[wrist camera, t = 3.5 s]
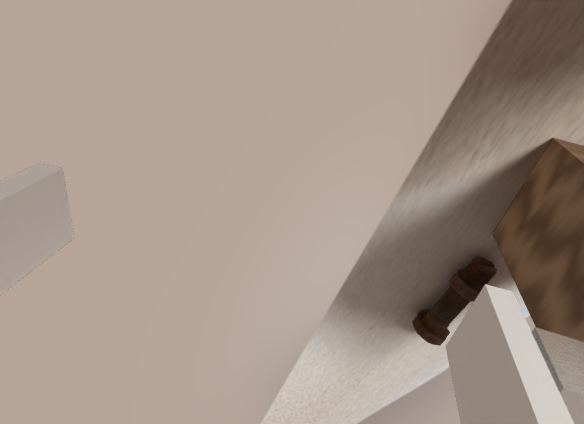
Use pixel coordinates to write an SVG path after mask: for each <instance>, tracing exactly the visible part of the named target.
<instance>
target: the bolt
mask: <svg viewBox="0 0 584 424" xmlns="http://www.w3.org/2000/svg"><path fill="white" fill-rule="evenodd" d="M494 267H495V265H494V264H493V263H492V262H491V261H489V260H487V259H485V258H481V257H480V258H478V257H477V258H475V259H474V260H473V261H472V262H471V264H470V265H469V266H468V267H467V269H465V271H464V270H459V271H458V272H457V273H456V274H455V275H454V277H453V278H452V279H451V280H450V283H451V287H450V288H449V290H447V292H446V293H445V294H444V295H443V296H442V297H441V299H440V300H439V301H438V302H437V303H436V304H435V306H434V307H433V308H432V309H431V310H429V312H428V313H427V312H425V311H423V310H422V311H421V312H420V313H419V314H418V315H417V317H416V318H415V319H414V320H413V321H412V322H413V326H414V328H415V330H416V332H417V333H418V334H419V335H420V336H421V337H422V338H423V339H424V340H425V341H427V342H428V343H431V344H434V345H441V344H442V343H443V342H444V340H445V339H446V337H447V336H448V335H449V333H450V332H449V330H448V329H447V327H448V326H449V324H450V323H451V322H452V321H453V319H454V318H455V317H456V316H457V315H458V314H459V313H460V312H461V311H462V310H463V309H464V308H465V306H466V305H467V304H468V303H469V302H470V301H475V299H476V298H477V296H478V295H479V293H480V291H481V290H482V288H483V287H484V285H485V284H487V283H488V281H490V279H491V278H492V277H493V276H494V275H495V274H496V271H497V269H496V268H494Z"/></svg>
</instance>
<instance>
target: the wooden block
mask: <svg viewBox="0 0 584 424" xmlns="http://www.w3.org/2000/svg"><path fill="white" fill-rule="evenodd" d="M493 236H494V238H495V240H496V242H497V245H498V247H499V249H500V251H501V253H502V255H503V257H504V260H505V262H506V264H507V266H508V268H509V270H510V273H511V275H512V277H513V279H514V281H515V283H516V285H517V288H518V290H519V292H520V294H521V296H522V298H523V300H524V303H525V305H526V307H527V309H528V311H529V313H530V315H531V318H532V319H533V322H534V324H535V326H536V328H539V329H543V330H546V331H549V332H553V333H556V334H559V335H562V336H566V337H569V338H572V339H576V340H579V341H582V342H584V146H582V145H578V144H574V143H570V142H566V141H563V140H559V139H555V138H552V140H551V141H550V143H549V144H548V146H547V148H546V149H545V151H544V152H543V154H542V156H541V157H540V159H539V160H538V162H537V164H536V165H535V167H534V168H533V170H532V172H531V173H530V175H529V176H528V178H527V180H526V181H525V183H524V184H523V186H522V188H521V189H520V191H519V192H518V194H517V196H516V197H515V199H514V200H513V202H512V204H511V205H510V207H509V208H508V210H507V212H506V213H505V215H504V216H503V218H502V220H501V221H500V223H499V224H498V226H497V228H496V229H495V231H494V232H493Z"/></svg>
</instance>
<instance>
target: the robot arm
mask: <svg viewBox="0 0 584 424" xmlns="http://www.w3.org/2000/svg"><path fill="white" fill-rule="evenodd" d="M73 239H74V232H73V226H72V220H71V215H70V208H69V202H68V196H67V190H66V184H65V178H64V173H63V168H60V167H57V166H53V165H50V164H46V163H42V162H40V163H38V164H35V165H33V166H31V167H29V168H27V169H25V170H23V171H20V172H18V173H16V174H14V175H12V176H10V177H7V178H5V179H3V180H1V181H0V295H1V294H3V293H4V292H5V291H7V290H8V289H9V288H10V287H12V286H13V285H14V284H16V283H17V282H18V281H20V280H21V279H22V278H24V277H25V276H26V275H27V274H29V273H30V272H31V271H33V270H34V269H35V268H37V267H38V266H39V265H40V264H42V263H43V262H44V261H46V260H47V259H48V258H50V257H51V256H52V255H53V254H55V253H56V252H57V251H59V250H60V249H61V248H63V247H64V246H65V245H66V244H68V243H69V242H70V241H72V240H73ZM446 350H447V355H448V360H449V365H450V371H451V376H452V381H453V385H454V391H455V396H456V401H457V405H458V411H459V416H460V421H461V424H574V422H573V420H572V418H571V416H570V414H569V411H568V409H567V407H566V405H565V403H564V401H563V399H562V396H561V394H560V392H559V390H558V388H557V386H556V384H555V381H554V379H553V377H552V375H551V373H550V371H549V369H548V367H547V364H546V362H545V360H544V358H543V356H542V354H541V352H540V349H539V347H538V345H537V343H536V341H535V339H534V337H533V334H532V332H531V330H530V328H529V326H528V324H527V322H526V319H525V317H524V315H523V313H522V311H521V309H520V307H519V305H518V302H517V300H516V298H515V296H514V294H513V292H512V291H508V290H505V289H501V288H497V287H494V286H490V285H486V284H485V285H484V287H483V288H482V290H481V291H480V293H479V295H478V296H477V298H476V299H475V301H474V302H473V304H472V306H471V307H470V309H469V310H468V312H467V314H466V315H465V317H464V318H463V320H462V321H461V323H460V325H459V326H458V328H457V329H456V331H455V333H454V334H453V336H452V337H451V339H450V340H449V342H448V344H447V345H446Z"/></svg>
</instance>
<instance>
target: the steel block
mask: <svg viewBox="0 0 584 424" xmlns="http://www.w3.org/2000/svg"><path fill="white" fill-rule="evenodd" d="M532 334H533V337H534V339H535V341H536V343H537V345H538V347H539V349H540V352H541V354H542V356H543V358H544V360H545V362H546V364H547V367H548V369H549V371H550V373H551V375H552V377H553V379H554V381H555V384H556V386H557V388H558V390H559V392H560V394H561V396H562V399H563V401H564V403H565V405H566V407H567V409H568V411H569V414H570V416H571V418H572V420H573V422H574V424H584V342H582V341H579V340H576V339H572V338H569V337H566V336H562V335H559V334H556V333H553V332H549V331H546V330H543V329H539V328H536V327H535V328H534V330H533V331H532Z"/></svg>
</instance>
